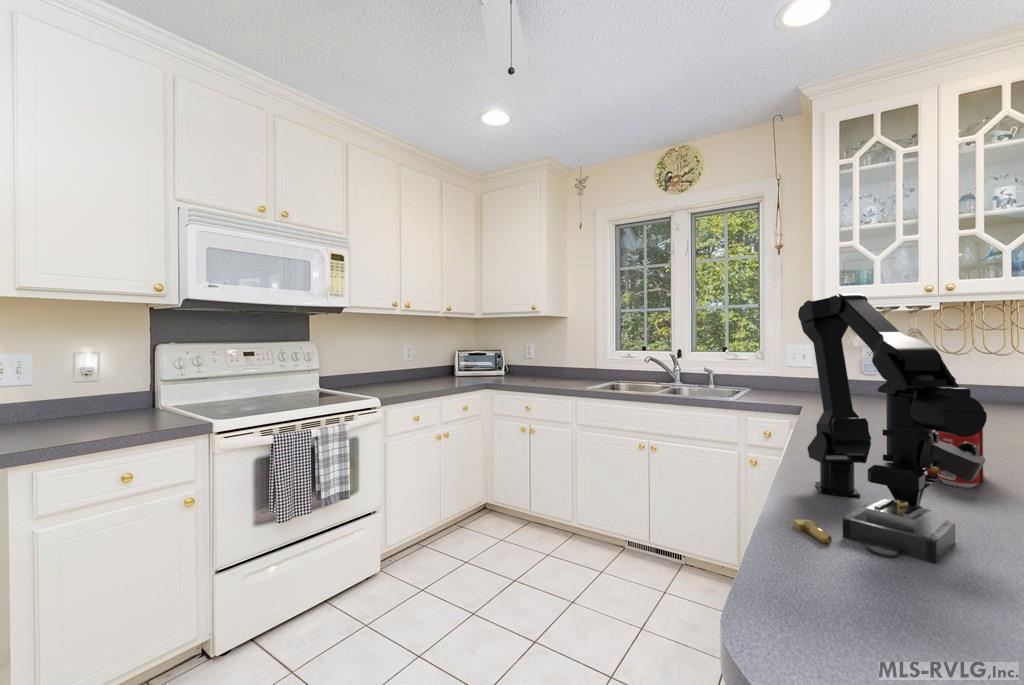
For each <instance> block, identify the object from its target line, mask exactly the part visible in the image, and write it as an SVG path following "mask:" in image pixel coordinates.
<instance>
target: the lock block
mask: <svg viewBox="0 0 1024 685" xmlns="http://www.w3.org/2000/svg"><path fill="white" fill-rule="evenodd" d="M872 504H873V505H871V506H868V507H866V522H869V523H873V524H877V525H881V526H884V527H888V528H892V529H896V530H900V531H904V532H908V533H912V534H916V535H920V536H924V537H929V536H930V535H931V534H933V530H932V529H933V525H932V523H933V522H932V520H933V519H932V515H933V514H932V509H928V508H924V507H923V506H921V505H919V506H912V505H908V501H906V500H903V499H896V501H895V499H891V498H888V499H885V498H884V499H881V500H879V501H878V502H875V503H872Z"/></svg>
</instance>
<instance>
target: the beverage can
mask: <svg viewBox="0 0 1024 685" xmlns="http://www.w3.org/2000/svg"><path fill="white" fill-rule="evenodd" d="M938 433H939V441H941V442H944V443H946V444H953V446H955V447H956V446H958V445H960V444H962V443H964V442H965V441H966V442H969V443H971V444H974V445H977V447H978V452H979V435H978V434H975V435H973V436H969V437H961V436H957V435H952V434H948V433H944V432H940V431H938ZM937 477H939V480H940V481H942V483H943V484H946V485H948V486H951V485H953V486H952V487H956V486H958V487H957V488H963V487H964V489H965V488H966V489H967V488H969V489H972V488H975V486H977V485H979V484H980V483H981V482H980V471H979V473H978V475H977V477H976V478H974V479H973V481H971V482H969V481H965V480H963V479H960V478H958V477H957V476H956V475H954V474H952V473H950V472H947V471H945V472H944V471H940V469H939V468H938V476H937Z"/></svg>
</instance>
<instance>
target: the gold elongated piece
mask: <svg viewBox="0 0 1024 685" xmlns="http://www.w3.org/2000/svg"><path fill="white" fill-rule="evenodd" d="M792 527H793V528H794V529H796V531H798V532H800V533H801V532H802V533H805V532H806V533H808V534H809V535H811V536H812V537H814V538H815V539H816V540H817V541H819V542H820V543H822V544H823V545H825V546H826V545H827V546H828V545H830V544H831V543H832V541H833V540H832V539H833V538H832V536H831V535H830V534H828V533H827V532H825V531H824V530H822V529H821V528H819V527H818V523H816V522H815V521H813V520H811V519H792Z"/></svg>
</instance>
